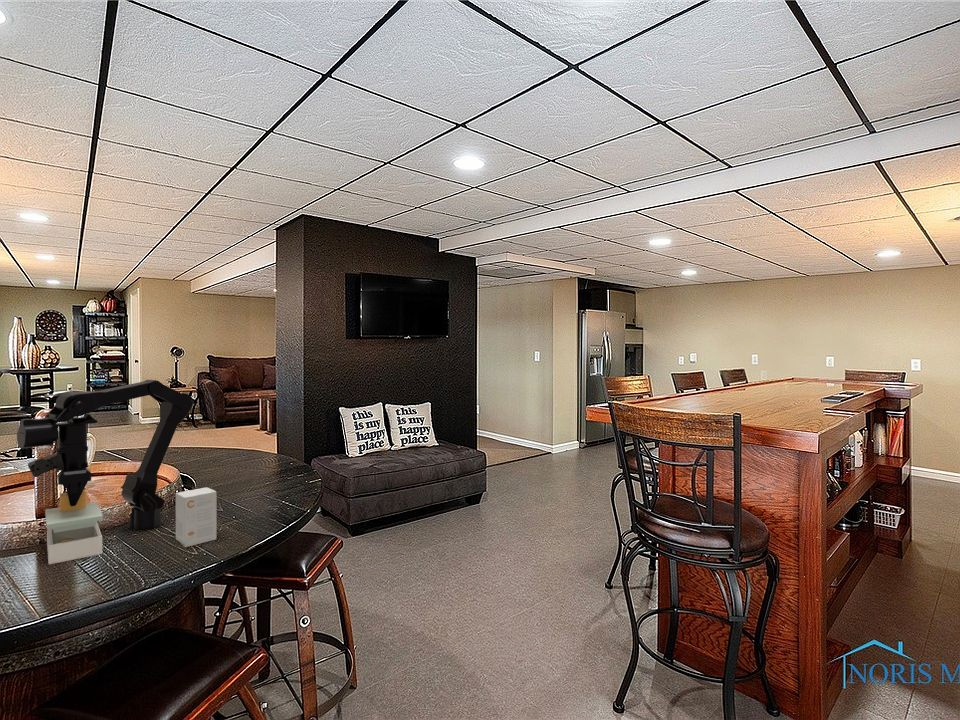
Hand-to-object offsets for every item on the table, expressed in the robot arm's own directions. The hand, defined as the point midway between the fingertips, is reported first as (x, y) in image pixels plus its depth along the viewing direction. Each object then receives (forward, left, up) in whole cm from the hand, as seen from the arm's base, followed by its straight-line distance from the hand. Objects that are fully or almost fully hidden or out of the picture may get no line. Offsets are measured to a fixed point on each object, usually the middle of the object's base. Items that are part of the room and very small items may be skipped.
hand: (72, 504), depth 130 cm
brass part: (0, +2, -10) cm, 11 cm away
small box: (-28, -6, -11) cm, 30 cm away
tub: (-3, +3, -11) cm, 12 cm away
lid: (-3, +3, -4) cm, 5 cm away
